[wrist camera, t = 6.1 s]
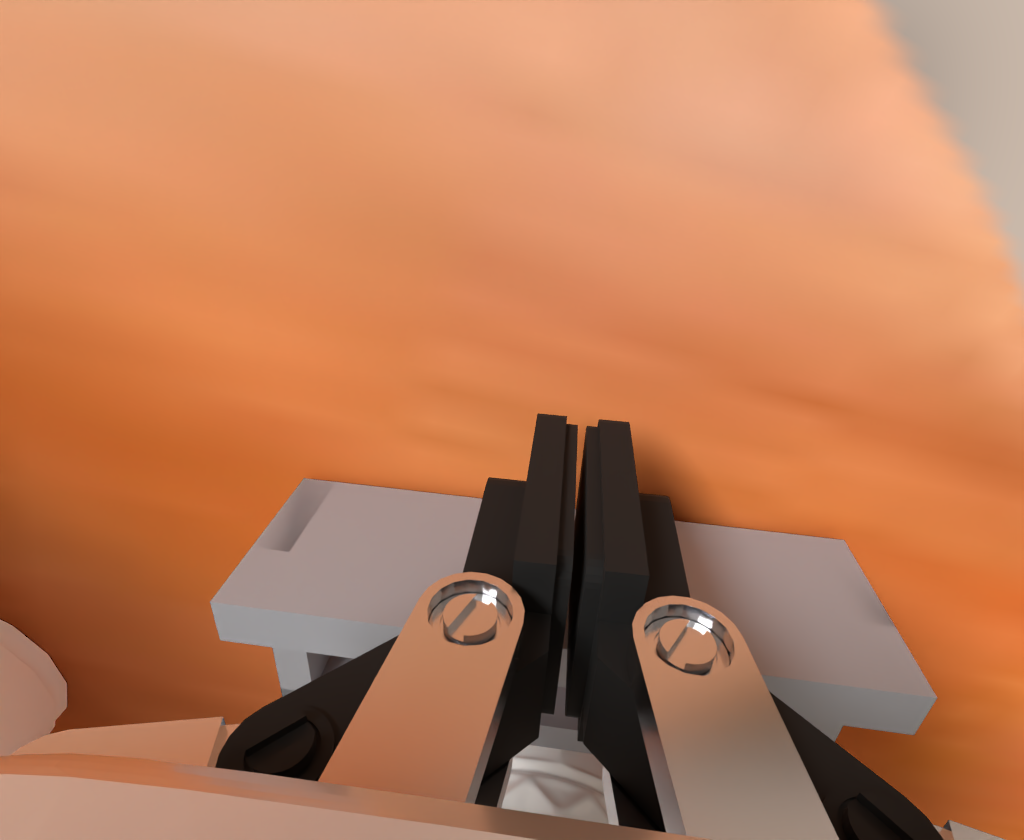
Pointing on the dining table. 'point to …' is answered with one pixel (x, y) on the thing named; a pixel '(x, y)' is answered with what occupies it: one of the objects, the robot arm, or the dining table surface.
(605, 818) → the white cup
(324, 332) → the dining table surface
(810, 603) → the tray
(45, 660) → the foam cup
